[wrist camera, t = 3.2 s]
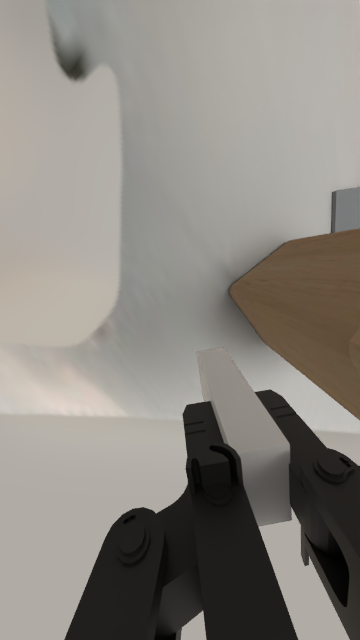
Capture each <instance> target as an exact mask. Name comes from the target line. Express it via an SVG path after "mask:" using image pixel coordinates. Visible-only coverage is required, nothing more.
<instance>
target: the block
mask: <svg viewBox="0 0 360 640" xmlns="http://www.w3.org/2000/svg"><path fill="white" fill-rule="evenodd" d="M229 291H230V295H231V297H232V299H233V300H234V301H235V303H236V304H237V305H238V307H239V308H240V310H241V311H242V312H243V314H244V315H245V316H246V318H247V319H248V321H249V322H250V323H251V325H252V326H253V327H254V329H255V330H256V332H257V333H258V334H259V336H260V337H261V338H262V340H263V341H264V343H265V344H267V345H268V346H269V347H270V348H272V349H273V350H274V351H275V352H276V353H278V354H279V355H280V356H281V357H283V358H284V359H285V360H286V361H287V362H289V363H290V364H291V365H292V366H294V367H295V368H296V369H297V370H299V371H300V372H301V373H302V374H303V375H305V376H306V377H307V378H308V379H310V380H311V381H312V382H313V383H315V384H316V385H317V386H318V387H319V388H321V389H322V390H323V391H324V392H326V393H327V394H328V395H329V396H331V397H332V398H333V399H334V400H335V401H337V402H338V403H339V404H340V405H342V406H343V407H344V408H345V409H346V410H348V411H349V412H350V413H351V414H353V415H354V416H355V417H356V418H358V419H359V420H360V228H358V229H352V230H347V231H341V232H335V233H330V234H324V235H318V236H312V237H307V238H301V239H295V240H291V241H288V242H287V243H285V244H284V245H283V246H281V247H280V248H279V249H278V250H276V251H275V252H274V253H272V254H271V255H270V256H269V257H267V258H266V259H265V260H263V261H262V262H261V263H260V264H258V265H257V266H256V267H254V268H253V269H252V270H251V271H249V272H248V273H247V274H245V275H244V276H243V277H242V278H240V279H239V280H238V281H236V282H235V283H234V284H233V285H232V286H231V288H230V290H229Z"/></svg>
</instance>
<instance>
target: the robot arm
mask: <svg viewBox="0 0 360 640" xmlns="http://www.w3.org/2000/svg"><path fill="white" fill-rule="evenodd" d="M197 358H198V365H199V372H200V379H201V386H202V393H203V398H204V401H205V402H201V403H195V404H189V405H187V406H186V408H185V410H184V412H183V421H184V429H185V438H186V448H187V457H188V458H187V462H186V473H187V478H188V485H187V488H186V489H185V491H184V493H183V494H182V495H181V497H180V498H179V499H178V500H177V501H176V502H174V503H173V504H172V505H170V506H168V507H167V508H165V509H163V510H161V511H160V512H158V513H157V514H156V513H155V512H154V511H152V510H150V509H147V508H144V507H142V508H135V509H132V510H130V511H128V512H126V513H125V514H123V515H122V516H121V517H120V518H119V519H118V520H117V521H116V522H115V523H114V524H113V525H112V527H111V529H110V531H109V532H108V534H107V536H106V538H105V540H104V542H103V545H102V547H101V550H100V552H99V555H98V557H97V560H96V562H95V565H94V567H93V570H92V572H91V575H90V577H89V580H88V582H87V585H86V587H85V590H84V592H83V595H82V597H81V600H80V602H79V605H78V607H77V610H76V612H75V615H74V617H73V620H72V622H71V625H70V627H69V630H68V632H67V635H66V637H65V640H181V630H182V627H183V626H184V625H185V624H187V623H188V622H189V621H190V620H191V619H193V618H194V617H195V616H197V615H198V614H199V613H200V612H201V611H202V610H203V612H204V621H205V630H206V639H207V640H298V638H297V635H296V632H295V630H294V627H293V624H292V621H291V618H290V615H289V612H288V610H287V607H286V604H285V601H284V598H283V595H282V593H281V590H280V587H279V584H278V581H277V579H276V576H275V573H274V570H273V567H272V564H271V561H270V559H269V556H268V553H267V550H266V547H265V544H264V542H263V539H262V536H261V533H260V530H259V528H258V526H263V525H268V524H274V523H279V522H284V521H290V520H292V517H291V507H292V509H293V511H294V512H295V515H296V516H297V518H298V520H299V522H300V524H301V556H302V559H303V562H304V565H305V566H307V565H309V556H310V559H311V561H312V562H313V565H314V567H315V569H316V571H317V573H318V575H319V577H320V579H321V581H322V583H323V585H324V587H325V589H326V591H327V593H328V595H329V597H330V600H331V602H332V604H333V606H334V608H335V610H336V612H337V614H338V616H339V618H340V620H341V622H342V624H343V626H344V628H345V630H346V632H347V635H348V636H349V639H350V640H360V466H358V465H357V464H355V463H354V462H353V461H352V460H351V459H349V458H348V457H347V456H345V455H344V454H342V453H340V452H337V451H336V450H333V449H329V448H327V447H326V446H325V445H324V444H323V443H322V442H321V441H320V440H319V438H318V437H317V436H316V435H315V434H314V433H313V432H312V430H311V429H310V428H309V427H308V426H307V425H306V423H305V422H304V421H303V420H302V419H301V418H300V417H299V415H297V414H296V412H295V411H294V410H293V408H292V407H290V405H289V404H288V403H287V402H286V400H285V399H284V398H283V397H282V396H281V395H279V394H277V393H276V392H274V391H272V390H265V391H259V392H254V391H253V389H252V388H251V386H250V385H249V384H248V382H247V381H246V379H245V378H244V376H243V375H242V373H241V372H240V370H239V369H238V367H237V366H236V365H235V363H234V362H233V360H232V359H231V357H230V356H229V354H228V353H227V351H226V350H225V348H224V347H222V348H216V349H210V350H204V351H198V352H197Z"/></svg>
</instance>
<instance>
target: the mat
mask: <svg viewBox="0 0 360 640" xmlns="http://www.w3.org/2000/svg"><path fill="white" fill-rule="evenodd" d="M358 228H360V187H357V188H351V189H344V190H338V191H335V192H333V196H332V230H331V233H335V232H341V231H347V230H352V229H358Z"/></svg>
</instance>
